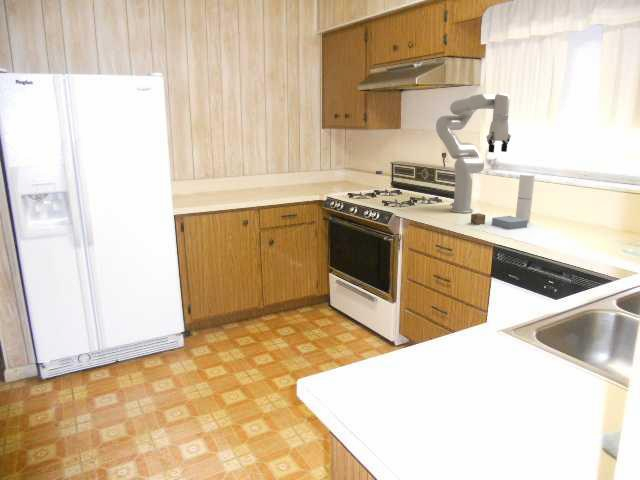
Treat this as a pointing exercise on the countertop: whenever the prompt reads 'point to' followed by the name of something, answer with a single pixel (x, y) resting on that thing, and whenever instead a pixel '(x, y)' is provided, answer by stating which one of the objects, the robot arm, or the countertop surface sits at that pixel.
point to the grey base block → (509, 222)
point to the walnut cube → (478, 218)
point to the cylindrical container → (525, 196)
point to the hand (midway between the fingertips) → (497, 151)
